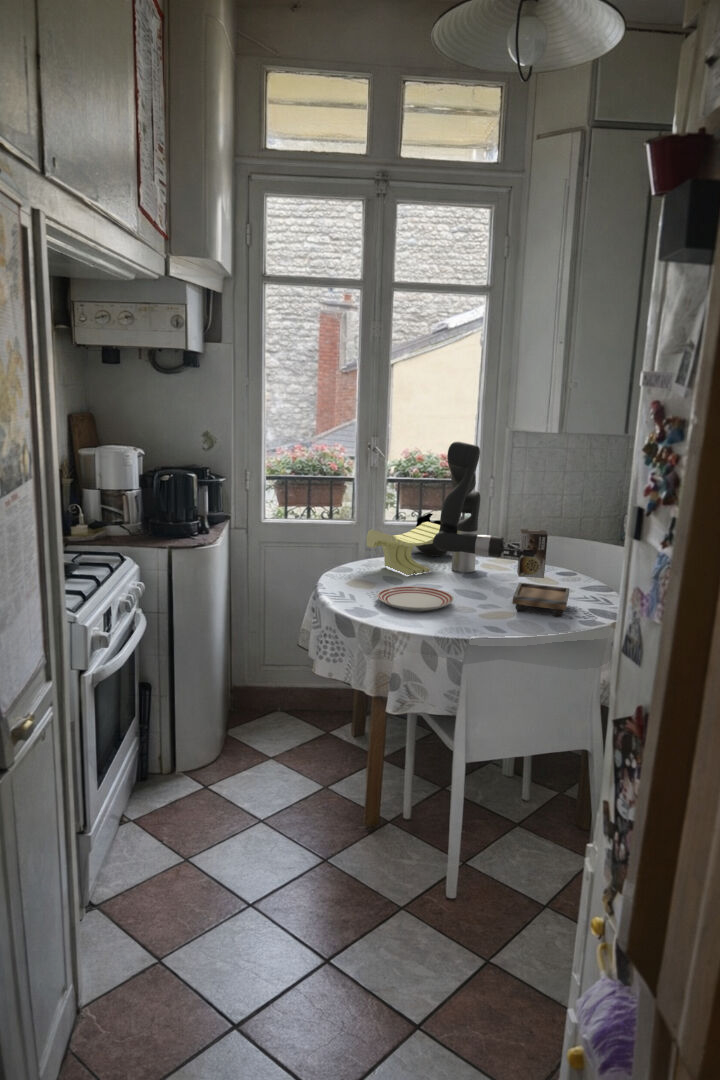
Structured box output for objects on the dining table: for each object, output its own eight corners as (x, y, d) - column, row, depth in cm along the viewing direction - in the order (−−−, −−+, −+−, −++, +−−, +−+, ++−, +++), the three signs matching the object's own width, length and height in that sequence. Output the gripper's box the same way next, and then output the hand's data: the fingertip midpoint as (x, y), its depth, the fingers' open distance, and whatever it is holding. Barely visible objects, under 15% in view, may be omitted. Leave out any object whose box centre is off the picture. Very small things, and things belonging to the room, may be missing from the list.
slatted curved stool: (420, 560, 344) (422, 520, 339) (446, 569, 331) (448, 527, 327) (365, 570, 326) (367, 527, 322) (390, 579, 313) (392, 535, 309)
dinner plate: (364, 596, 292) (364, 587, 292) (430, 589, 303) (431, 581, 302) (396, 620, 268) (397, 610, 267) (467, 612, 279) (468, 603, 278)
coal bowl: (401, 553, 355) (403, 511, 350) (434, 547, 367) (436, 507, 362) (431, 563, 339) (434, 520, 335) (465, 557, 351) (468, 515, 347)
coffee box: (542, 573, 287) (546, 530, 283) (544, 578, 280) (548, 534, 277) (516, 572, 288) (520, 528, 284) (517, 576, 281) (522, 532, 278)
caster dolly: (511, 612, 279) (513, 596, 278) (518, 597, 296) (519, 582, 295) (564, 619, 274) (566, 602, 273) (567, 604, 291) (569, 588, 290)
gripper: (486, 539, 279) (534, 545, 274) (493, 531, 292) (539, 536, 287) (485, 560, 281) (532, 566, 276) (491, 551, 294) (537, 556, 289)
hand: (535, 551), depth 281 cm, fingers closed on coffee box, 7 cm apart
